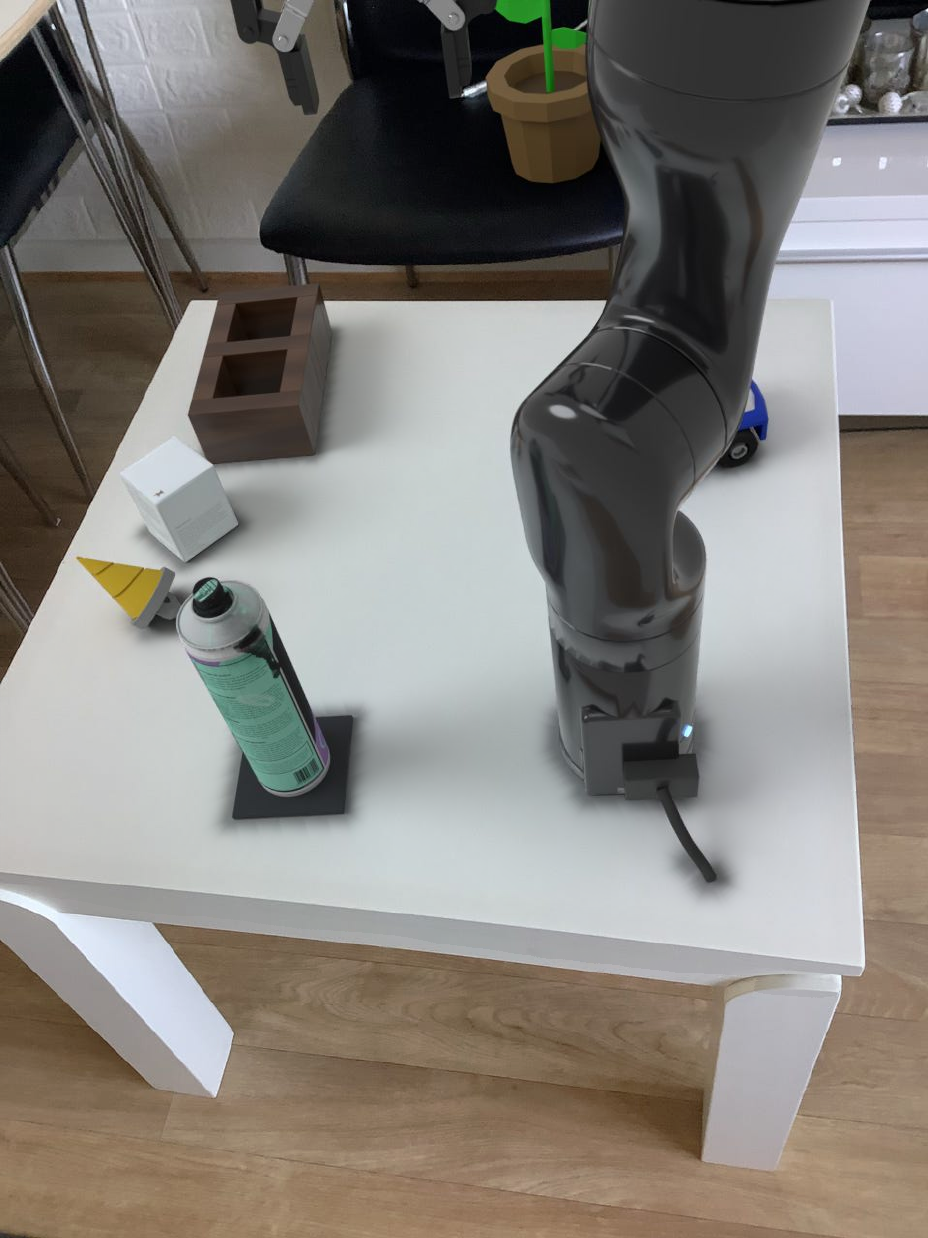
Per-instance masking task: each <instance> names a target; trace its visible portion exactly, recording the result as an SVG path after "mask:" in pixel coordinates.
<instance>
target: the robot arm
mask: <svg viewBox="0 0 928 1238" xmlns="http://www.w3.org/2000/svg"><path fill="white" fill-rule="evenodd" d="M229 1H230V4H231V8H232V14H233V19H234V22H235V27H236V28H235V29H236V32H237V36H238V38H239V39H240V40H241V41H242V42H243V43H245V44H247V45H253V44H256V43H260V44H265V45H268V46H270V47H272V48H273V49H274V50H275V51H276V53H277V55H278V59H279V64H280V69H281V71H282V75H283V80H284V83H285V87H286V91H287V95H288V98H289V100H290V101H291V103H292V105H293V106H294V107H298V106H301V108H302V113H303V115H304V116H310V115H311V116H312V115H318V110H319V106H320V93H319V88H318V85H317V81H316V76H315V73H314V67H313V63H312V59H311V55H310V51H309V46H308V42H307V38H306V34H305V33H301V30H302V28H303V25H304V23H305V21H306V20H307V18H308V15H310V14H309V13H310V11H311V9H312V6H313V5H314V2H315V0H284V2H283V4H282V6H281V9H280V11H275V10H271V9H267V8H265V6H264V1H263V0H229ZM417 1H418V3H420V4H423V5H425V6H426V7H427V8H428V10H430V11H431V13H433V15H434V16H435V17H436V18H437V19H438V20H439V21H440V22H441V23H440V40H441V44H442V45H441V46H442V47H441V48H442V54H443V60H444V68H445V69H444V70H445V75H446V77H445V78H446V83H447V90H448V97H449V99H456V98H462V96H463V87H465V86H466V87H467V86H470V84H471V81H472V76H473V75H472V71H473V70H472V67H473V64H472V63H473V62H472V56H471V47H470V39H469V38H470V37H469V29H468V25H469V23H470V22H471V20H473V19H474V18H476V17H478V16H480V15H481V14H483V15H488V14H491V13H492V12H494V10H495V8H496V5H497V0H417ZM870 2H871V0H588V8H587V20H586V31H585V33H586V43H585V44H586V47H585V74H586V83H587V91H588V96H589V100H590V105H591V109H592V113H593V118H594V121H595V124H596V127H597V130H598V132H599V135H600V138H601V139H600V142H601V144H602V146H603V149H604V151H605V153H606V156H607V158H608V161H609V163H610V165H611V168H612V169H613V172H614V174H615V176H616V178H617V181H618V184H619V186H620V189H621V192H622V198H623V224H622V225H623V226H622V235H621V239H620V244H619V251H618V255H617V260H616V265H615V269H614V274H613V277H612V281H611V285H610V289H609V292H608V295H607V298H606V301H605V303H604V307H603V309H602V312H601V314H600V316H599V318H598V320H596V322H595V324H594V325H593V327H592V328H591V330H590V331H589V333H587V335H586V336H585V337H584V338H583V339H582V341H581V342H579V343H578V345H577V346H575V348H573V350H571V352H569V353H568V354H567V355H566V356H565V357H564V359H562V361H560V363H558V365H556V366H555V368H554V369H552V370H551V372H550V373H549V374H547V376H545V378H543V380H542V381H540V383H538V385H537V386H535V388H533V390H532V391H531V392H530V393H529V394H528V395H527V396H526V397H525V398H524V399H523V401H522V402H521V403H520V405H519V406H518V408H517V410H516V411H515V414H514V417H513V420H512V423H511V429H510V436H509V455H510V464H511V471H512V477H513V482H514V488H515V491H516V498H517V502H518V507H519V512H520V518H521V522H522V527H523V533H524V539H525V542H526V546H527V550H528V552H529V555H530V557H531V560H532V562H533V564H534V565H535V568H536V570H537V571H538V574H539V575H540V576H541V578H542V580H543V582H544V586H545V595H546V605H547V615H548V616H547V618H548V629H549V638H550V647H551V656H552V668H553V677H554V688H555V698H556V706H557V715H558V723H559V724H558V738H559V746H560V751H561V753H562V756H563V758H564V760H565V762H566V764H567V765H568V766H569V768H570V769H571V770H572V771H573V772H574V774H576V776H578V778H580V779H582V780H583V782H584V788H585V793H586V794H587V795H589V796H595V795H596V796H597V795H615V794H619V795H621V794H622V795H623V794H624V799H625V802H628V801H629V802H630V801H647V800H650V801H651V800H659V801H660V803H661V805H662V808H663V810H664V812H665V814H666V816H667V819H668V821H669V824H670V825H671V827H672V830H673V831H674V833H675V836H676V837H677V839H678V841H679V843H680V844H681V846H682V848H683V849H684V851H685V852H686V854H687V855H688V856H689V858H690V859H691V860H692V861H693V863H694V864H695V866H696V867H697V869H698V870H699V872H700V873H701V875H702V877H703V879H704V881H705V883H707V884H710V883H712V882H714V881H716V880H717V879H718V874H717V873H716V871H715V870H714V868H713V866H712V865H711V863H710V862H709V860H708V859H707V857H706V856H705V854H704V853H703V852H702V851H701V849H700V848H699V847H698V845H697V844H696V843H695V841H694V839H693V838H692V836H691V834H690V832H689V830H688V828H687V826H686V824H685V823H684V821H683V819H682V816H681V814H680V812H679V809H678V808H677V806H676V803H675V800H674V799H688V798H690V799H691V798H697V797H698V796H699V795H698V794H699V786H700V771H699V766H698V757H697V753H695V752H694V753H693V749H694V741H695V723H694V722H695V712H696V711H695V710H696V698H697V684H698V674H699V673H698V672H699V662H700V661H699V660H700V649H701V637H702V624H703V616H704V605H705V603H704V602H705V593H706V580H707V569H708V567H707V566H708V564H707V563H708V558H707V550H706V545H705V541H704V539H703V536H702V534H701V532H700V530H699V529H698V528H697V526H696V525H695V523H694V522H693V521H692V520H691V519H690V518H689V517H688V516H687V515H686V514H685V513H684V512H682V511H681V510H680V509H681V507H682V506H683V505H684V504H685V503H686V502H687V500H688V499H689V498H690V497H691V496H692V495H693V493H694V492H695V491H696V489H697V488H698V487H699V486H700V484H702V482H703V481H704V479H705V478H706V477H707V476H708V475H709V473H710V472H711V471H712V470H713V469H714V467H715V466H716V465H717V463H718V462H720V461H719V459H720V458H721V457H722V456H723V455H724V453H725V452H726V451H727V449H728V448H729V446H730V445H731V443H732V441H733V439H734V437H735V435H736V433H737V431H738V429H739V427H740V424H741V422H742V419H743V415H744V412H745V408H746V405H747V400H748V396H749V391H750V386H751V381H752V379H753V375H754V370H755V364H756V358H757V354H758V353H757V352H758V347H759V341H760V336H761V330H762V327H763V321H764V315H765V310H766V305H767V300H768V294H769V290H770V286H771V283H772V282H771V281H772V277H773V274H774V270H775V266H776V263H777V259H778V256H779V252H780V250H781V248H782V244H783V242H784V240H785V236H786V234H787V231H788V229H789V227H790V225H791V222H792V220H793V217H794V215H795V213H796V210H797V208H798V206H799V203H800V200H801V198H802V196H803V195H802V194H803V192H804V190H805V188H806V185H807V182H808V180H809V176H810V174H811V171H812V168H813V165H814V163H815V159H816V157H817V155H818V151H819V148H820V145H821V142H822V139H823V137H824V133H825V130H826V127H827V125H828V122H829V119H830V116H831V113H832V111H833V109H834V105H835V103H836V100H837V98H838V95H839V92H840V90H841V87H842V85H843V82H844V80H845V77H846V75H847V71H848V69H849V66H850V63H851V61H852V58H853V54H854V52H855V49H856V45H857V43H858V39H859V36H860V34H861V30H862V27H863V24H864V21H865V19H866V15H867V12H868V10H869V6H870Z"/></svg>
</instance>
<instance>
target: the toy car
mask: <svg viewBox="0 0 928 1238" xmlns="http://www.w3.org/2000/svg"><path fill="white" fill-rule="evenodd" d="M769 420H770V419H769V412H768V407H767V403H766V400H765V397H764V395H763V393H762V391H761V389H760V387H759V386H758V384H757V383H756V382H755V380H754V379H753V378H752V381H751V386H750V391H749V396H748V400H747V405H746V408H745V412H744V415H743V419H742V422H741V424H740V427H739V429H738V431H737V433H736V435H735V437H734V439H733V441H732V443H731V445H730V446H729V448H728V449H727V451H726V452H725V453H724V455H723V456H722V457H721V458H720V459H719V461H718V462H719V463H720V464H721V465H723V466H724V467H727V468H734V467H739V466H741V465H743V464H745V463H747V462H748V461H750V459H752V458H753V457H754V456H755V454H756V452H757V451H758V448H759V441H760V442H763V441H766V439H767V437H768V436H767V435H768V428H769ZM751 428H752V429H753V430H754V432H755V434H756V435H755V434H754V432H753V430H752V429H751ZM756 436H757V437H758V439H759V441H758V439H757V437H756Z"/></svg>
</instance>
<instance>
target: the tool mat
mask: <svg viewBox="0 0 928 1238" xmlns="http://www.w3.org/2000/svg"><path fill="white" fill-rule="evenodd" d="M315 718H316V721H317V723H318V725H319V728H320V730H321V732H322V734H323V737H324V739H325V741H326V744H327V746H328V749H329V753H330V765H329V769H328V771H327V773H326V775H325V777H324V778H323V779H322V781H321V782H320V783H319V784H318V785H317V786H316V787H314V788H313V789H311V790H310V791H308V792H306V793H304V794H301V795H298V796H292V797H282V796H277V795H274V794H272V793H270V792H268V791H267V790H266V789H265V788H264V787H263V786H262V785H261V783H260V782H259V780H258V779H257V777H256V775H255V773H254V772H253V770H252V768H251V766H250V764H249V763H248V761H247V759H246V757H245V756H244V754H243V752H242V753H241V759H240V765H239V772H238V778H237V784H236V790H235V794H234V800H233V808H232V812H231V813H232V814H231V818H232V819H233V820H241V819H243V820H244V819H260V818H261V819H262V818H283V817H304V816H322V815H341V814H342V815H343V814H345V805H346V793H347V782H348V774H349V772H348V771H349V761H350V751H351V739H352V728H353V719H354V718H353V716H352V714H346V715H331V716H330V715H329V716H315Z"/></svg>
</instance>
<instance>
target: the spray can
mask: <svg viewBox="0 0 928 1238" xmlns="http://www.w3.org/2000/svg"><path fill="white" fill-rule="evenodd" d="M175 627H176V631H177V634H178V637H179V640H180V643H181V645H182V646H183V648H184V650H185V652H186V654H187V656H188V657H189V659H190V661H191V663H192V665H193V666H194V668H195V670H196V672H197V674H198V676H199V677H200V679H201V681H202V683H203V685H204V686H205V688H206V689H207V691H208V693H209V695H210V697H211V698H212V700H213V702H214V704H215V706H216V707H217V709H218V711H219V713H220V714H221V716H222V718H223V720H224V722H225V724H226V726H227V728H228V729H229V731H230V733H231V735H232V736H233V738H234V740H235V741H236V743H237V745H238V747H239V749H240V750H241V752H242V753H243V754H244V756H245V757H246V759H247V761H248V763H249V764H250V766H251V768H252V770H253V772H254V773H255V775H256V777H257V779H258V780H259V782H260V783H261V785H262V786H263V787H264V788H265V789H266V790H267V791H268V792H270V793H272V794H274V795H277V796H282V797H292V796H298V795H301V794H304V793H306V792H308V791H310V790H311V789H313V788H314V787H316V786H317V785H318V784H319V783H320V782H321V781H322V779H323V778H324V777H325V775H326V773H327V771H328V769H329V765H330V753H329V749H328V746H327V744H326V741H325V739H324V737H323V734H322V732H321V730H320V728H319V725H318V723H317V721H316V718H315V717H316V715H315V714H314V711H313V710H312V707H311V705H310V703H309V700H308V698H307V696H306V693H305V691H304V689H303V686H302V683H301V681H300V680H299V677H298V675H297V673H296V670H295V668H294V666H293V663H292V661H291V659H290V656H289V654H288V652H287V649H286V648H285V645H284V643H283V640H282V638H281V636H280V633H279V631H278V628H277V627H276V624H275V622H274V619H273V617H272V615H271V613H270V611H269V609H268V606H267V604H266V602H265V599H264V598H262V596H261V595H260V593H259V591H258V590H257V589H256V587H254V586H253V585H251V584H250V583H247V582H245V581H242V580H237V579H222V580H219V579H218V578H217V577H213V576H207V577H204V578H201V579H199V580H198V581H196V583H195V584H194V586H193V588H192V593H191V594H190V595H189V596H188V597H187V598H186V599H185V600H184V601H183V603H182V604H181V607H180V609H179V612H178V614H177V617H176V618H175Z"/></svg>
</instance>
